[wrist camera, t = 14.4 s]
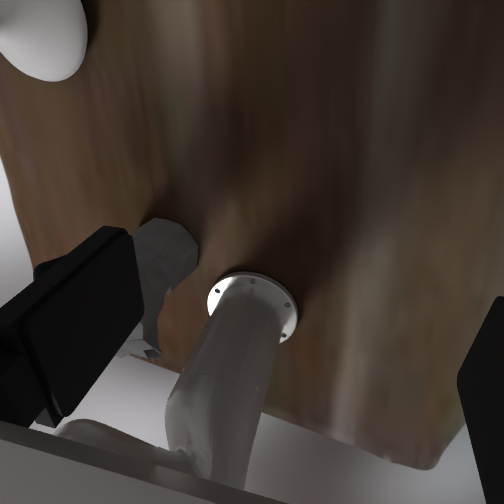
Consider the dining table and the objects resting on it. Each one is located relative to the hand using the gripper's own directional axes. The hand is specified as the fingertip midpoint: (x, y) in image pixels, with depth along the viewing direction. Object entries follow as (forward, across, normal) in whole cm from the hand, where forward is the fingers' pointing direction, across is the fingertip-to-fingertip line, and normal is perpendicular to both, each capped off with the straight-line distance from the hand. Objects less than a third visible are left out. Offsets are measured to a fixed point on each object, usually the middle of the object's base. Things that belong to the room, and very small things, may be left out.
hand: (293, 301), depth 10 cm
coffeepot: (+31, +21, +20) cm, 42 cm away
